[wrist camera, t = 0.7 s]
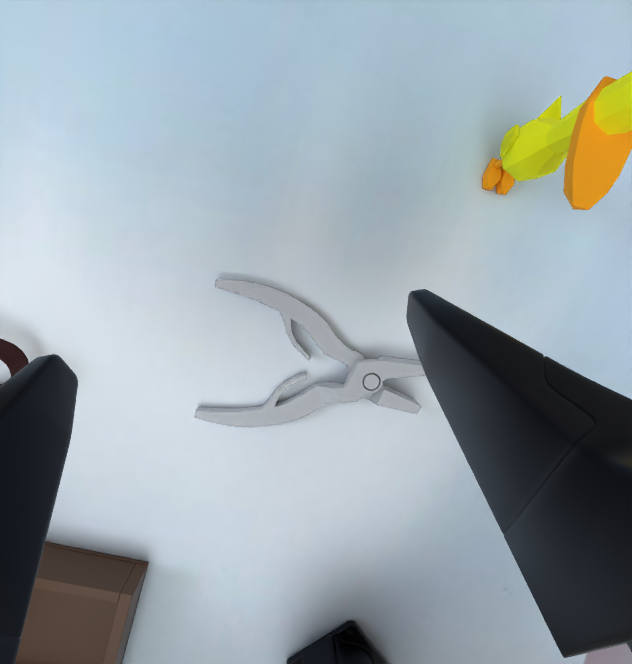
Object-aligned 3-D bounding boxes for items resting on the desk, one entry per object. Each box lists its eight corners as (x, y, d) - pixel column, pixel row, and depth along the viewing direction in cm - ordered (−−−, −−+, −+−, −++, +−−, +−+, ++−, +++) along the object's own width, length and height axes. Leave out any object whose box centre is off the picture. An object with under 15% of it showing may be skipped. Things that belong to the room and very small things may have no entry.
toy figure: (504, 236, 25) (703, 202, 13) (456, 223, 24) (616, 175, 12) (535, 134, 24) (780, -3, 12) (486, 119, 23) (689, -39, 12)
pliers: (213, 275, 22) (443, 319, 24) (218, 275, 24) (433, 317, 25) (190, 426, 23) (409, 458, 25) (196, 416, 25) (402, 447, 27)
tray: (148, 562, 26) (132, 595, 24) (114, 690, 28) (95, 736, 25) (-98, 513, 25) (-146, 543, 22) (-120, 655, 26) (-168, 700, 23)
